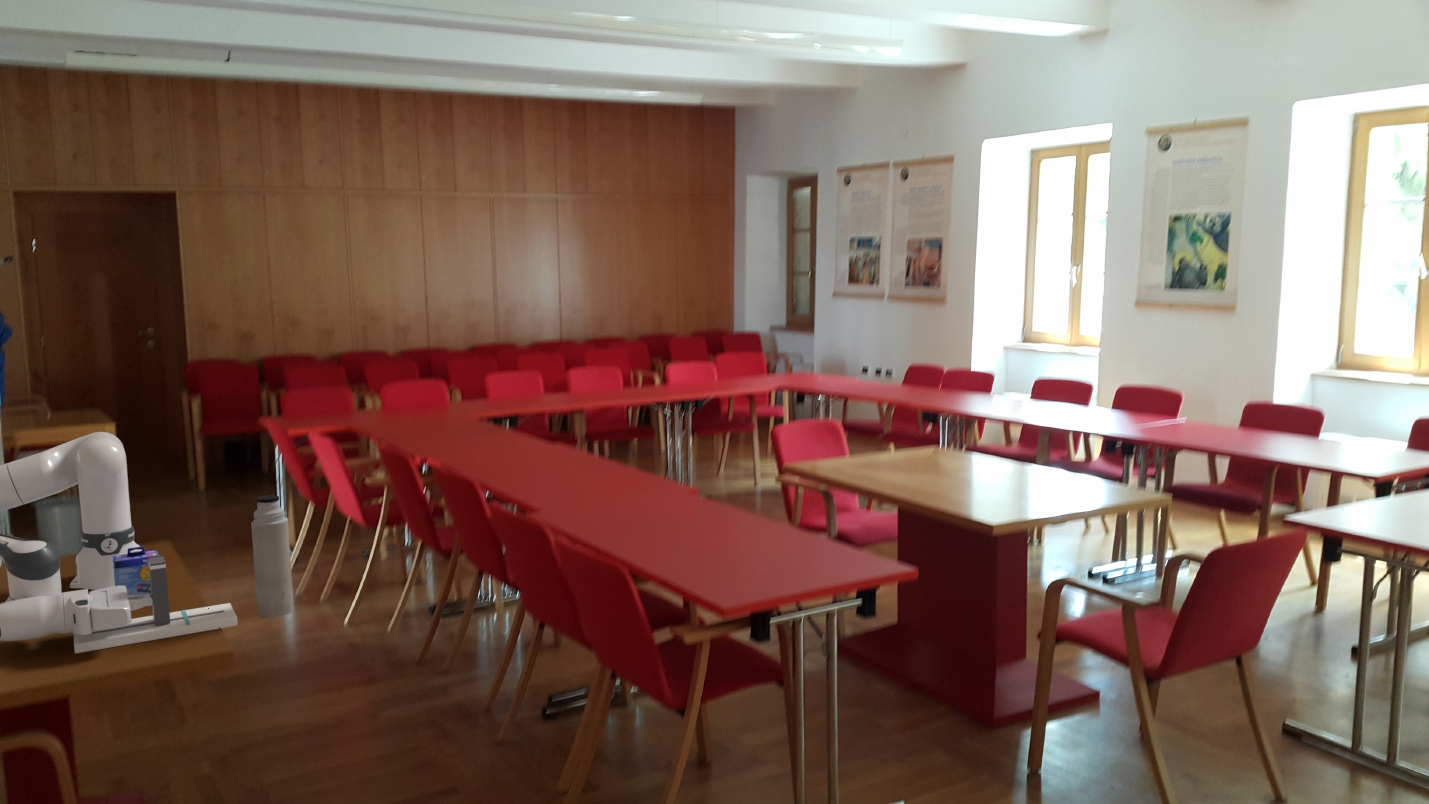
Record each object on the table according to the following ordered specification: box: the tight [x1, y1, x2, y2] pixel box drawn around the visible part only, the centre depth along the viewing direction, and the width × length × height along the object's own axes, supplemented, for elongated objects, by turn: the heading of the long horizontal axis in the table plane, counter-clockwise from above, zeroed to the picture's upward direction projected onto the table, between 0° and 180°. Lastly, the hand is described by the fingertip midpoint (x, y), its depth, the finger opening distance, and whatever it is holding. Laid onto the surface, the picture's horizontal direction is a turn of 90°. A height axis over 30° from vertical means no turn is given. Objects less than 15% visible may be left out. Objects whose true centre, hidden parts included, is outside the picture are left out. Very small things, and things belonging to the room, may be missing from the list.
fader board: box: [73, 602, 239, 654], centre depth 238 cm, size 12×32×2 cm, turn 122°
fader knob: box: [148, 556, 171, 625], centre depth 238 cm, size 6×3×14 cm, turn 32°
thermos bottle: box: [250, 494, 295, 619], centre depth 249 cm, size 8×8×28 cm
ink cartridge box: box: [113, 545, 160, 596], centre depth 258 cm, size 10×6×14 cm, turn 124°
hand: (152, 599), depth 236 cm, fingers closed
